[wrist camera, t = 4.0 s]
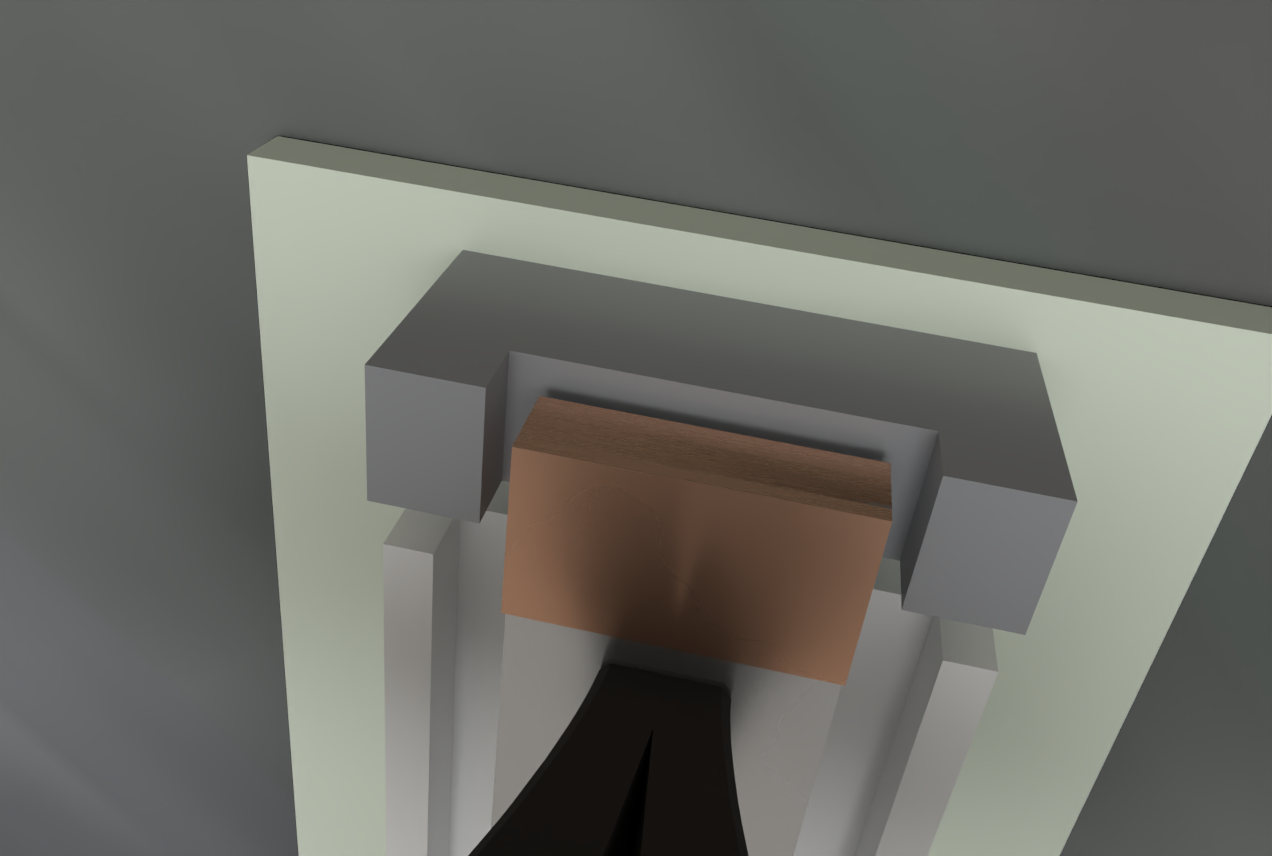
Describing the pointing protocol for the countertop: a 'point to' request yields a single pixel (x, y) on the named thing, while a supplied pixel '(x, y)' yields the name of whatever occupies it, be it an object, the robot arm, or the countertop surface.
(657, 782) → the robot arm
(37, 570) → the countertop surface
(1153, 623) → the board
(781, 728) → the strip
